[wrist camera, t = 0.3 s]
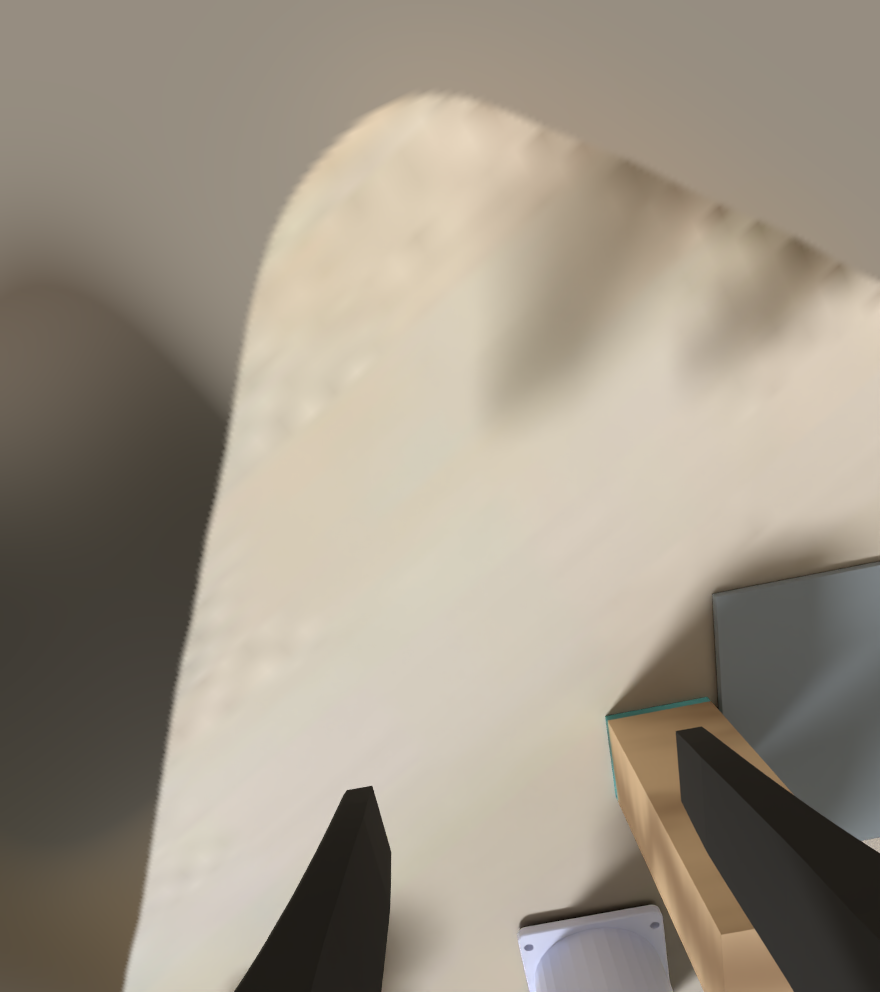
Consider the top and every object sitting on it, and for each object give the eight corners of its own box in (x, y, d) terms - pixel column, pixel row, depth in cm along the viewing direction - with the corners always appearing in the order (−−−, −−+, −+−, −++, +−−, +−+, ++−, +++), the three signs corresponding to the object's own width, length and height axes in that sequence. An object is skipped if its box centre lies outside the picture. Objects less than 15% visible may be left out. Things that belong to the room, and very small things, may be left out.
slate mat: (988, 811, 24) (995, 816, 24) (727, 858, 24) (730, 864, 24) (1024, 533, 20) (1033, 535, 20) (712, 594, 21) (716, 596, 20)
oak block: (712, 778, 23) (883, 1018, 14) (615, 796, 23) (728, 1044, 15) (707, 696, 22) (891, 904, 13) (605, 716, 22) (721, 934, 13)
